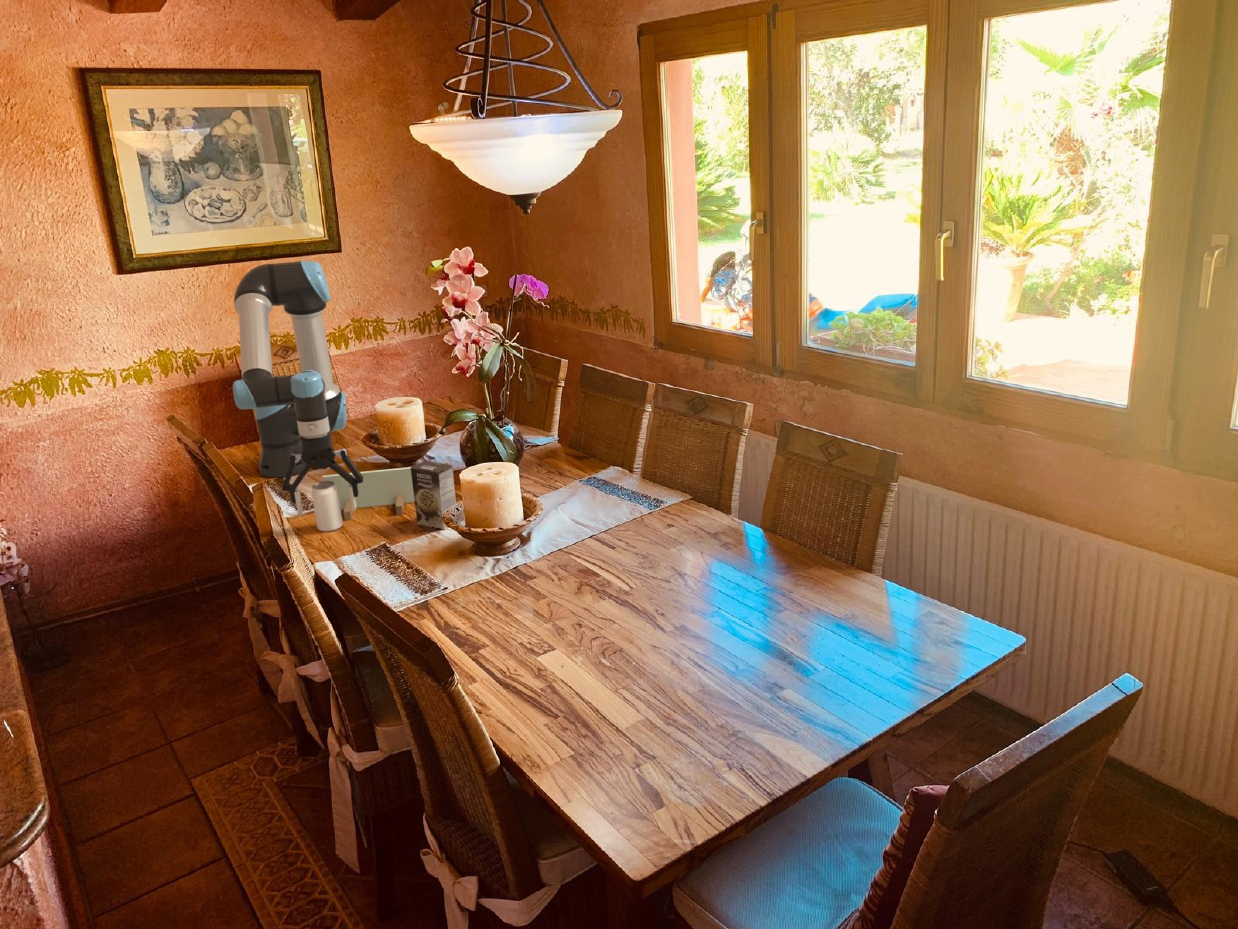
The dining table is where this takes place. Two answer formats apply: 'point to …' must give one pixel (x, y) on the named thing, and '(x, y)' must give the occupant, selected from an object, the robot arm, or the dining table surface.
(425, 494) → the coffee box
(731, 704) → the dining table surface
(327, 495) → the can
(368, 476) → the wall board
